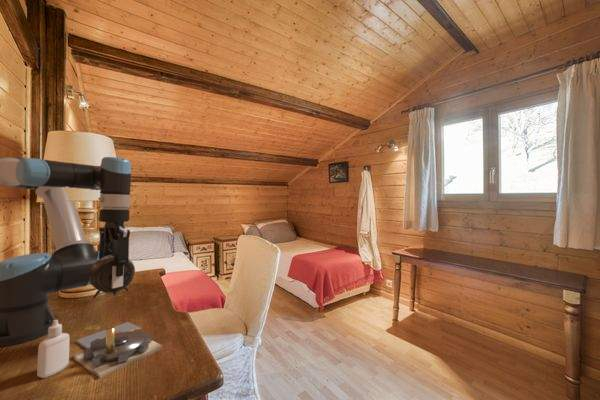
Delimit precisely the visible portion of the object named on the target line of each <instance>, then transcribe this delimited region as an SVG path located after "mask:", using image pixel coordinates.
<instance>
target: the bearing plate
mask: <svg viewBox="0 0 600 400" xmlns="http://www.w3.org/2000/svg"><path fill="white" fill-rule="evenodd" d="M163 347H164V346H163V345H162V344H160V343H159V342H157V341H154V340H153V339H152V341H150V342H149V347H148V349H147V350H146V351H145V352H138V353H136V354H134V355H132V356H130V357H128V360H127V361H123V362H120V363H118V360H117V361H112V362H104V363H103V364H101V365H100V366H97V365H92V358H90V359H87V360H83V352H84V350H87V349H84V350H81V351H78V352H76V353H73V354H72V359H74V360H75V361H77V362H78V364H79V363H80V365H82V366H83V367H84V368H85V369H87V370H88V371H89V372H91V374H93V375H95V376H96V377H97V378H98V379H101V378H104V377H106V376H109V375H110V374H112V373H114V372H117V371H119V370H121V369H122V368H125V367H126V366H129V365H132V364H133V363H135V362H138V361H140V360H141V359H143V358H144V359H145V357H148V356H149V355H152V354H154V353H157V352H159V351H160V350H162V349H164V348H163ZM89 349H90V348H89Z"/></svg>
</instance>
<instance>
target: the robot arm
mask: <svg viewBox="0 0 600 400" xmlns="http://www.w3.org/2000/svg"><path fill="white" fill-rule="evenodd" d="M100 161H101V163H100V165H90V164H82V163H74V162H65V161H60V162H59V161H57V160H50V159H49V160H48V159H42V158H36V157H35V158H34V157H32V158H31V157H21V156H13V157H12V156H8V157H0V185H1V186H3V187H7V188H11V189H21V190H34V192H35V195H36V196H37V197H38V198H41V199H42V200H43V203H44V208H45V212H46V216H47V220H48V223H49V228H50V232H51V235H52V239H53V244H54V247H55V250H54V251H53V252H52V253H51V254H50V253H49V252H37V253H28V254H22V255H18V256H14V257H13V256H12V257H10V258H6V259H3V260H1V261H0V347H7V346H13V345H18V344H21V343H25V342H28V341H32V340H35V339H37V338H40V337H43V336H45V335H48V328H49V327H50V326H52V324H53V321H54V320H56V318H55V316H54V314H53V312H52V309H51V307H50V305H49V295H50V294H53V293H58V292H63V291H68V290H73V289H78V288H82V287H84V288H85V287H88V286H89V285H91V283H90V280H89V272H90V269H91V267H92V266H93V265H94V263H95V262H96V261H98V260H99V259H101V258H102V257H105V256H107V255H112V254H113V256H114V264H112V288H117V287H121V286H123V273H124V264H126V263H128V262H129V260H130V259H129V256H130V255H129V254H130V253H129V251H130V234H131V230H130V229H126V228H125V223H126V222H129V221H130V214H131V213H130V209H129V208H130V207H131V181H132V169H131V168H132V167H131V166H132V163H131V161H130V160H129V159H127V158H123V157H114V156H105V157H104V156H103V158H102V159H101V160H100ZM63 187H64V188H77V189H80V190H81V189H84V190H91V191H92V190H93V191H95V190H96V191H100V192H99V195H100V196H99V197H98V200H99V207H100V208H101V209H99V214H98V219H99V220H98V221H99V222H101V223H104V227H99V228H98V229H99V247H98V248H99V249H98V250H95V246H94V244H92V243H91V242H87V239H86V234H85V232H84V229H83V225H82V221H81V218H80V215H79V212H78V208H77V206H76V202H75V200H74V201H66V200H69V199H70V197H69V196H68V194H67V192H66V191H65V190H64V188H63ZM110 243H111V244H110ZM109 244H110V245H109ZM108 245H109V249H110V251H113V252H110V251H109V250H108ZM91 286H92V285H91Z"/></svg>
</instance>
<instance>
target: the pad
mask: <svg viewBox="0 0 600 400" xmlns="http://www.w3.org/2000/svg"><path fill="white" fill-rule="evenodd" d="M114 327H115V332H117V331H121V332H128V331H134V330H135V329H142V327H140V326H138V325H135V324H133V323H131V322H130V321H127V322H124V323H121V324H118V325H115V326H114ZM142 330H143V329H142ZM105 337H106V329H103V330H100V331H98V332H96V333H93V334H90V335H87V336H84V337H81V338H78V339H76V340H75V343H76V344H78V345H79V346H80V347H82V348H83V349H84V350H86V349H89V348H90V344H91V342H92V341H94V340H96V339H103V338H105Z"/></svg>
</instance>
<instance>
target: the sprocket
mask: <svg viewBox="0 0 600 400" xmlns="http://www.w3.org/2000/svg"><path fill="white" fill-rule="evenodd" d="M105 330H106V337H105V338H103V339H96V340H94V341H92V342H91V344H90V349H87V350H86V349H84V352H83V360H87V359H90V358H92V365H97V366H100V365H101V364H103V363H104V362H112V361H117V360H118V363H120V362H123V361H127V360H128V357H130V356H132V355H134V354H136V353H138V352H145V351H146V350H147V349H148V347H149V342H150V341H152V340H153V335H152V333H151V332H148V333H144V332H143V329H135V330H134V331H128V332H121V331H117V332H115V326H109V327H107V328H106V329H105Z"/></svg>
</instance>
